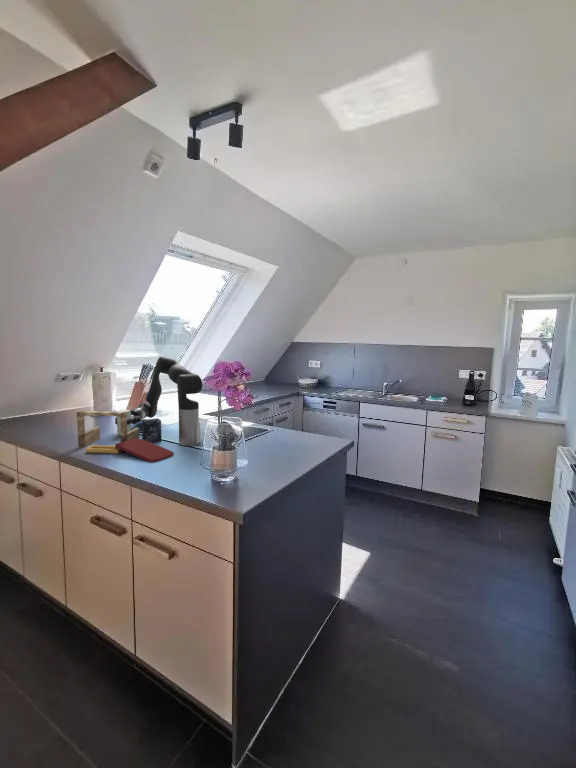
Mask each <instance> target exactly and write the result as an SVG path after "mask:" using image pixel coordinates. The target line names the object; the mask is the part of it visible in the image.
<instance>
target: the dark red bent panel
mask: <svg viewBox="0 0 576 768" xmlns="http://www.w3.org/2000/svg"><path fill="white" fill-rule="evenodd" d="M114 446H115V449H117V448H119V449H121V452H126V453H128V454H130V455H131V456H135V457H137V458H139V459H141V460H144V461H146V462H148V463H156V462H161V461H163V460H166V459H169V458H171V457H173V456H174V454H175V452H174V451H173V450H170V449H167V448H165V447H163V446H159V445H158V444H155V443H154V442H148V441H145V440H143V439H142V438H139V439H131V440H127V441H123V442H121V441H120V442H117V443H115V445H114ZM121 452H120V453H121Z"/></svg>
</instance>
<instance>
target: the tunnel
mask: <svg viewBox="0 0 576 768" xmlns="http://www.w3.org/2000/svg"><path fill="white" fill-rule="evenodd" d="M87 416H88V417H90V416H91V417H117V416H120V419H121V435H120V438H121V439H120V442H123V441H127V440H131V439H140V427H134V428H133V429H131V431H129V432H127V412H117V411H108V410H107V411H104V410H103V411H102V410H101V411H100V410H79V411H76V423H77V425H76V426H77V442H78V443H77V445H78V447H77V448H78V449H83V448H85V447H87V446H89V445H90V444H93V443H95V442H96V441H99V440H100V439H101V428H100V426H95V427H93V428H91V429H89V430H87V431H85V430H86V429H85V427H86V425H85V417H87Z"/></svg>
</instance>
